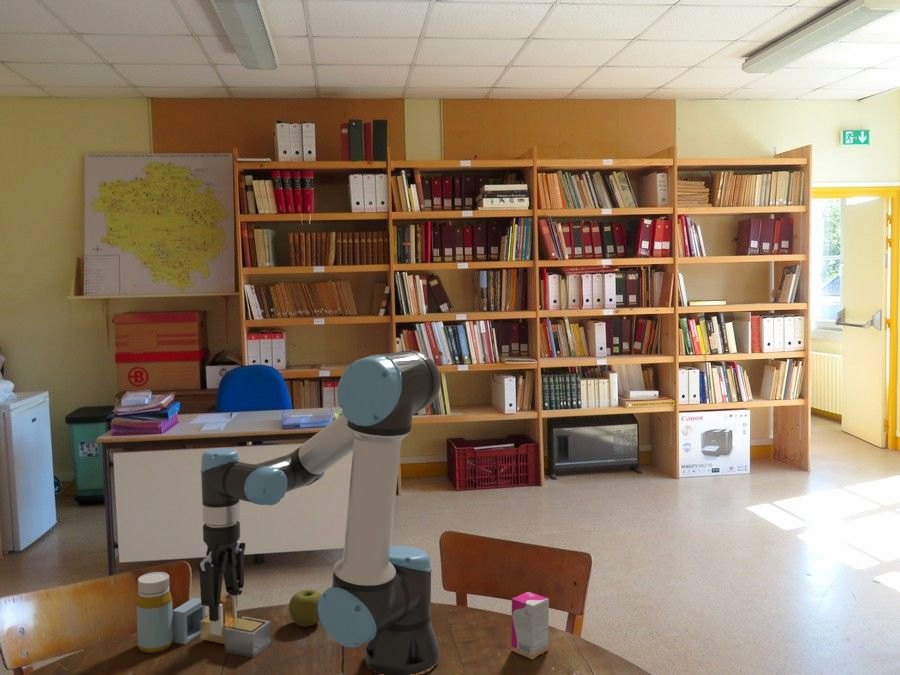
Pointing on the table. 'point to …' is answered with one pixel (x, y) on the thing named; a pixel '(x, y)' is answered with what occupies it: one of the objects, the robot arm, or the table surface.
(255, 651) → the sleeve
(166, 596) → the bottle
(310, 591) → the apple
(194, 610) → the socket block
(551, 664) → the table surface
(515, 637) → the supplement box
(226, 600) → the yellow orange l-shaped block
